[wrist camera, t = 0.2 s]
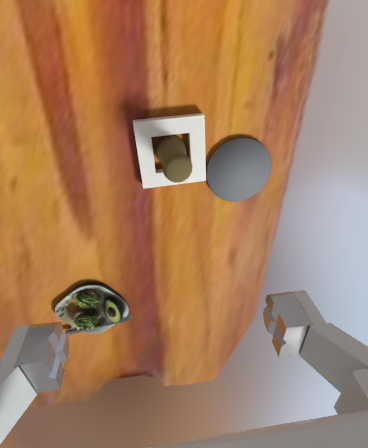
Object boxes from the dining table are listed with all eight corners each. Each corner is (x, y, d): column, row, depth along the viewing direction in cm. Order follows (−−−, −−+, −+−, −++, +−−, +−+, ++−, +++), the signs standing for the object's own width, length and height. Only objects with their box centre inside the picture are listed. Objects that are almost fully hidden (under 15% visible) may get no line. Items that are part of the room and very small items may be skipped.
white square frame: (132, 119, 52) (132, 122, 51) (202, 112, 53) (204, 115, 52) (142, 184, 59) (143, 188, 58) (203, 176, 60) (206, 180, 59)
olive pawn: (158, 132, 54) (164, 150, 45) (188, 137, 56) (200, 156, 46) (153, 162, 57) (157, 185, 48) (182, 167, 59) (192, 189, 49)
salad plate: (89, 340, 83) (87, 355, 79) (38, 311, 74) (33, 326, 70) (140, 308, 79) (140, 321, 75) (93, 272, 70) (91, 286, 66)
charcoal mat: (205, 141, 56) (206, 143, 56) (272, 133, 58) (274, 135, 57) (206, 203, 64) (207, 205, 63) (266, 195, 65) (268, 197, 65)
